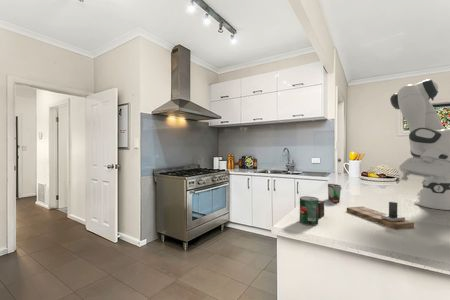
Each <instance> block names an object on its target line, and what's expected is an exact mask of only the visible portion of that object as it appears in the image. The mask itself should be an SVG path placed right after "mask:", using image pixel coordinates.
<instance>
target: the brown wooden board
mask: <svg viewBox="0 0 450 300" xmlns="http://www.w3.org/2000/svg"><path fill="white" fill-rule="evenodd" d="M346 212H348V213H350V214H353V215H354V216H355V215H356V216H358V217H360V216H361V218H363V219H366V220H368V221H370V222H371V221H372V222H373V223H377V224H380V225H382V226H384V227H388V228H389V229H390V228H391V229H393V230H403V229H411V228H412V229H414V228H415V222H413V221H410V220H406V219H405V220H401V221H390V220H387V219H384V218H381V215H386V214H387V213H385V212H382V211H378V210H374V209H372V208H369V207H365V206H363V205H362V206H350V207H346ZM413 227H414V228H413Z"/></svg>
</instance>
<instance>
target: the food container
mask: <svg viewBox="0 0 450 300" xmlns="http://www.w3.org/2000/svg"><path fill="white" fill-rule="evenodd" d="M342 190H343V188H342V185H340V184H335V183H328V184H327V196H328V197H327V199H328V200H329V201H330V202H331V203H332V204H339V203H340V202H341V201H340V199H341V191H342Z"/></svg>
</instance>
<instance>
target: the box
mask: <svg viewBox="0 0 450 300" xmlns="http://www.w3.org/2000/svg"><path fill="white" fill-rule="evenodd" d="M323 217H325V201H324V200H320V199H319V200H318V219H322V218H323Z"/></svg>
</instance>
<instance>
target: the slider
mask: <svg viewBox="0 0 450 300" xmlns="http://www.w3.org/2000/svg"><path fill="white" fill-rule="evenodd" d="M398 206H399V205H398V202H396V201H388V214H387V213H385V214H386V215H381V218H384V219H387V220H390V221H401V220H406V216H403V215H400V214H399V215H398Z"/></svg>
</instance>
